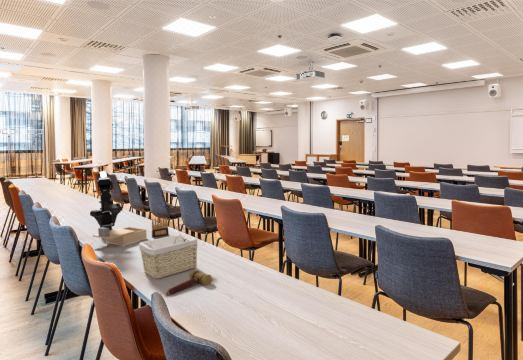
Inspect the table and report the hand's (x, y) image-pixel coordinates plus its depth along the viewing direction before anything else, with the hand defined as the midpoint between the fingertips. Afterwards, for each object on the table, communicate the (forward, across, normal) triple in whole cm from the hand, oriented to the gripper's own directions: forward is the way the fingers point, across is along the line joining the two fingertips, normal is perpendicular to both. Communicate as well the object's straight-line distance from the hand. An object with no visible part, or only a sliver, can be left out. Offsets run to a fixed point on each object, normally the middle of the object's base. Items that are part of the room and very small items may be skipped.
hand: (107, 224), depth 226 cm
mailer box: (+13, +12, -2) cm, 17 cm away
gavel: (+12, -28, -86) cm, 91 cm away
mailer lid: (+6, +3, -2) cm, 7 cm away
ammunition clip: (+13, +29, -13) cm, 34 cm away
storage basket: (+12, -15, -64) cm, 67 cm away
